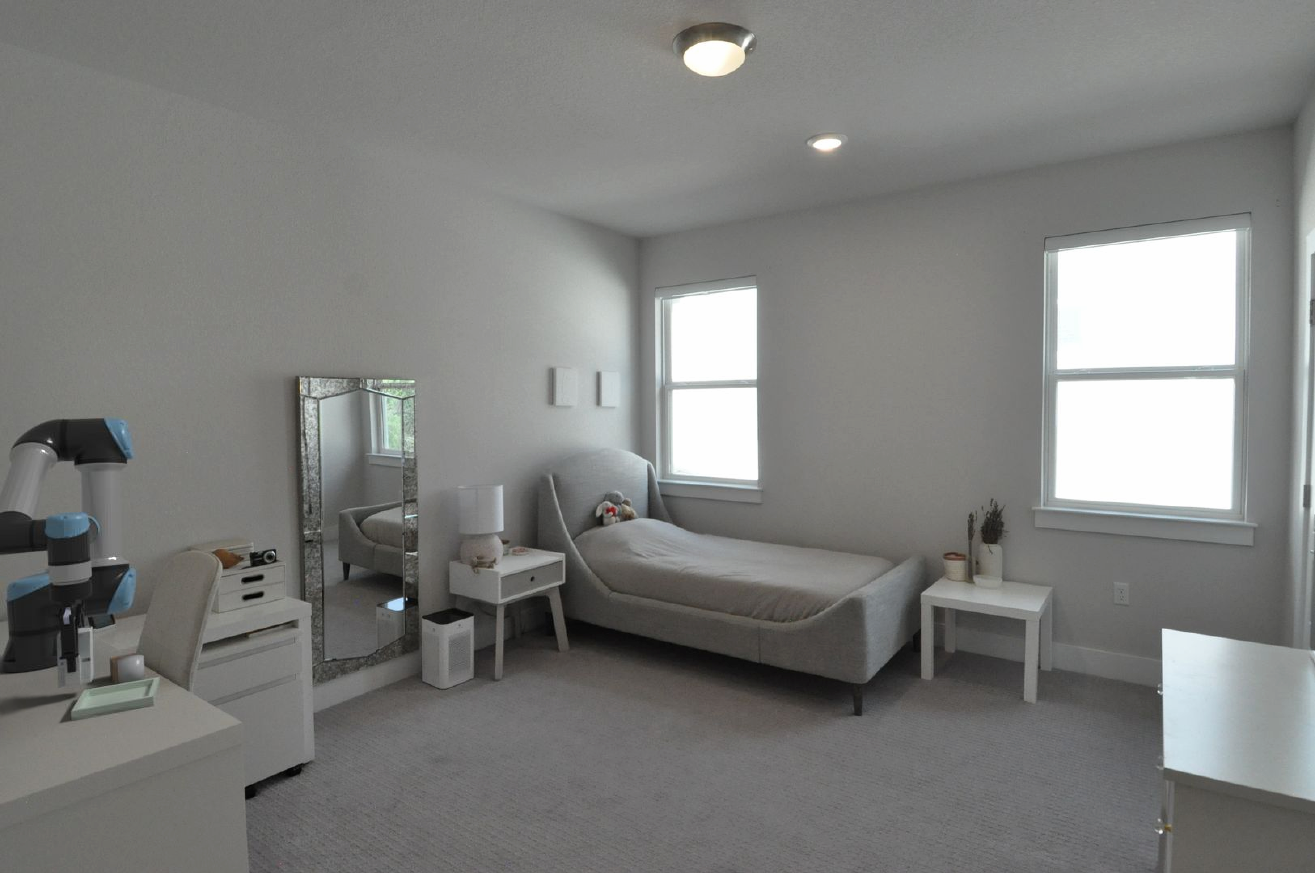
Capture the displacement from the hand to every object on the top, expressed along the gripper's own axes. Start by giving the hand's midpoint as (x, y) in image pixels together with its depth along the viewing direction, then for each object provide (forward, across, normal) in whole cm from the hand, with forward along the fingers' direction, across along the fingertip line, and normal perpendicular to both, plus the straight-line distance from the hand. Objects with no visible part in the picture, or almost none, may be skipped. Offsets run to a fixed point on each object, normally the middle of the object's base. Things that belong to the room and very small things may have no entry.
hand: (75, 681), depth 161 cm
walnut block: (+4, -8, +8) cm, 12 cm away
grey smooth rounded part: (+3, -2, +10) cm, 11 cm away
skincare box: (+1, 0, 0) cm, 1 cm away
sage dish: (+3, +11, +9) cm, 14 cm away
